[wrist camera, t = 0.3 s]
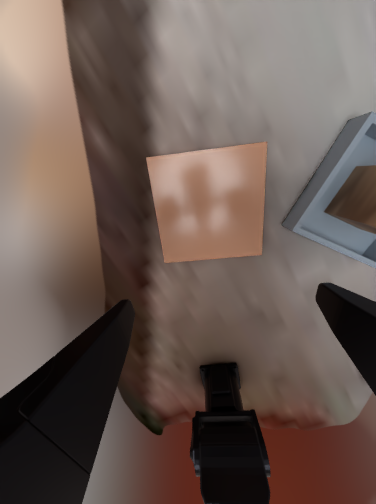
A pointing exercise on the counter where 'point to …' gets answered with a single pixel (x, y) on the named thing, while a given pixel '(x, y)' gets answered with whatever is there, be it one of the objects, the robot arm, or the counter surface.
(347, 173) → the tray
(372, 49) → the counter surface
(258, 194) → the terracotta tile
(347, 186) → the walnut box
